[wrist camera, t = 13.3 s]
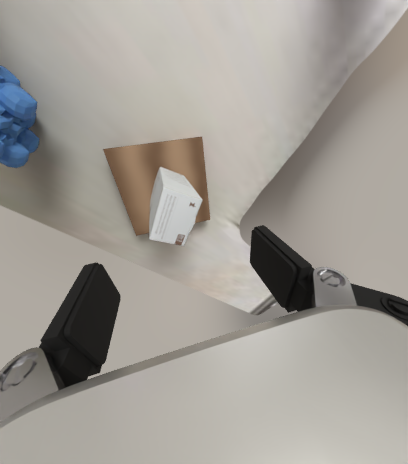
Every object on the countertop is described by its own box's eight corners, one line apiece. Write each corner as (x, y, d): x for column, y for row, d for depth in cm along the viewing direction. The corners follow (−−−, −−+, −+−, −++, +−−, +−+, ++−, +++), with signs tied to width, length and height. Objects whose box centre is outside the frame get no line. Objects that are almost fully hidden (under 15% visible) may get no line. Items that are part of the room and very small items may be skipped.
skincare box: (158, 165, 25) (160, 182, 14) (186, 176, 26) (205, 197, 16) (149, 202, 27) (144, 240, 17) (175, 210, 29) (185, 247, 18)
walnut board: (197, 137, 27) (202, 136, 24) (206, 213, 34) (210, 219, 31) (108, 148, 24) (103, 149, 22) (137, 228, 32) (136, 235, 29)
